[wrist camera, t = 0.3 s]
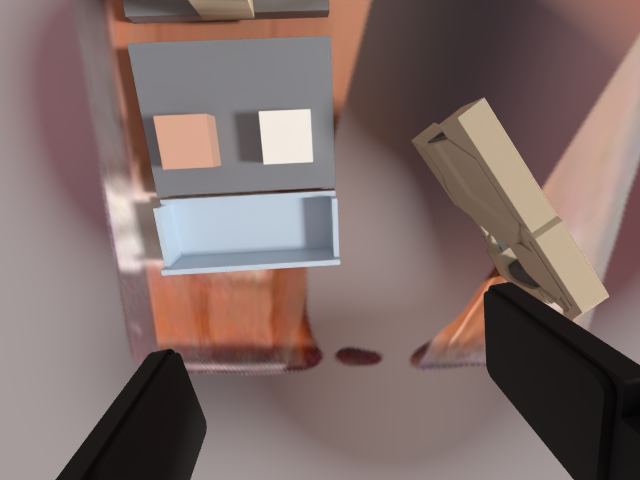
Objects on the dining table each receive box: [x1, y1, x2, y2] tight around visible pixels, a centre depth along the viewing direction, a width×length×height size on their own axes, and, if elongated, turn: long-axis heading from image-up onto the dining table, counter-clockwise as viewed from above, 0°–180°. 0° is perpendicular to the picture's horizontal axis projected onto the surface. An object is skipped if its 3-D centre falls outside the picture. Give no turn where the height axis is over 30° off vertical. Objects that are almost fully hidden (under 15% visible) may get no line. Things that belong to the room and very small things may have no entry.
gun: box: [411, 98, 609, 321], centre depth 33 cm, size 24×3×15 cm, turn 38°
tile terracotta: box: [153, 114, 221, 170], centre depth 32 cm, size 5×5×3 cm
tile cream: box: [259, 109, 313, 165], centre depth 32 cm, size 5×5×3 cm
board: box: [127, 36, 336, 196], centre depth 34 cm, size 15×20×2 cm
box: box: [153, 188, 340, 276], centre depth 36 cm, size 8×20×5 cm, turn 93°
